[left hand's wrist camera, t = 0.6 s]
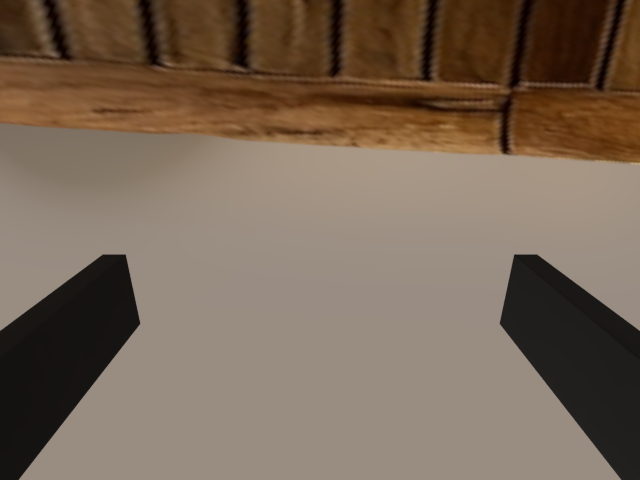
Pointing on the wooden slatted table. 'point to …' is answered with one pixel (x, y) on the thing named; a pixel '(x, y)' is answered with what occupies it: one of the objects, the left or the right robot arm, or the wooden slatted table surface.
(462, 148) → the wooden slatted table surface
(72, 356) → the left robot arm
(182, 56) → the wooden slatted table surface
